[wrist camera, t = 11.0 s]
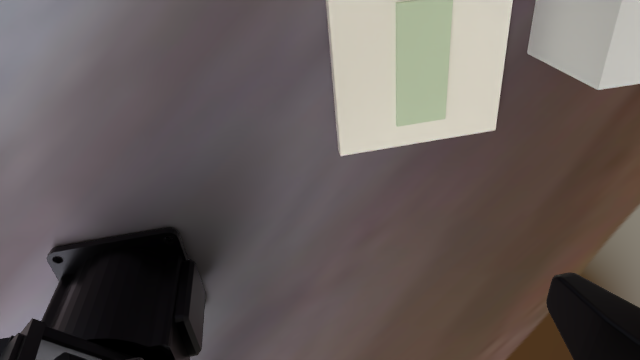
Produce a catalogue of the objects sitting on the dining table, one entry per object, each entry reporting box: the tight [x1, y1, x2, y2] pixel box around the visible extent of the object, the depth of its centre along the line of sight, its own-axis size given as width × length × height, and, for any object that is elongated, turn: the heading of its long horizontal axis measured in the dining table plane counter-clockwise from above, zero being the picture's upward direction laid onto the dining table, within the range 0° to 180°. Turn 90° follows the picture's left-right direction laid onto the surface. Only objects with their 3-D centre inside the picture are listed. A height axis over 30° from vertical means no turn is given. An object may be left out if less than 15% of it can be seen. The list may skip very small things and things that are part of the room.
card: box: [326, 0, 513, 156], centre depth 20 cm, size 8×8×1 cm
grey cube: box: [527, 0, 640, 90], centre depth 18 cm, size 5×5×5 cm
